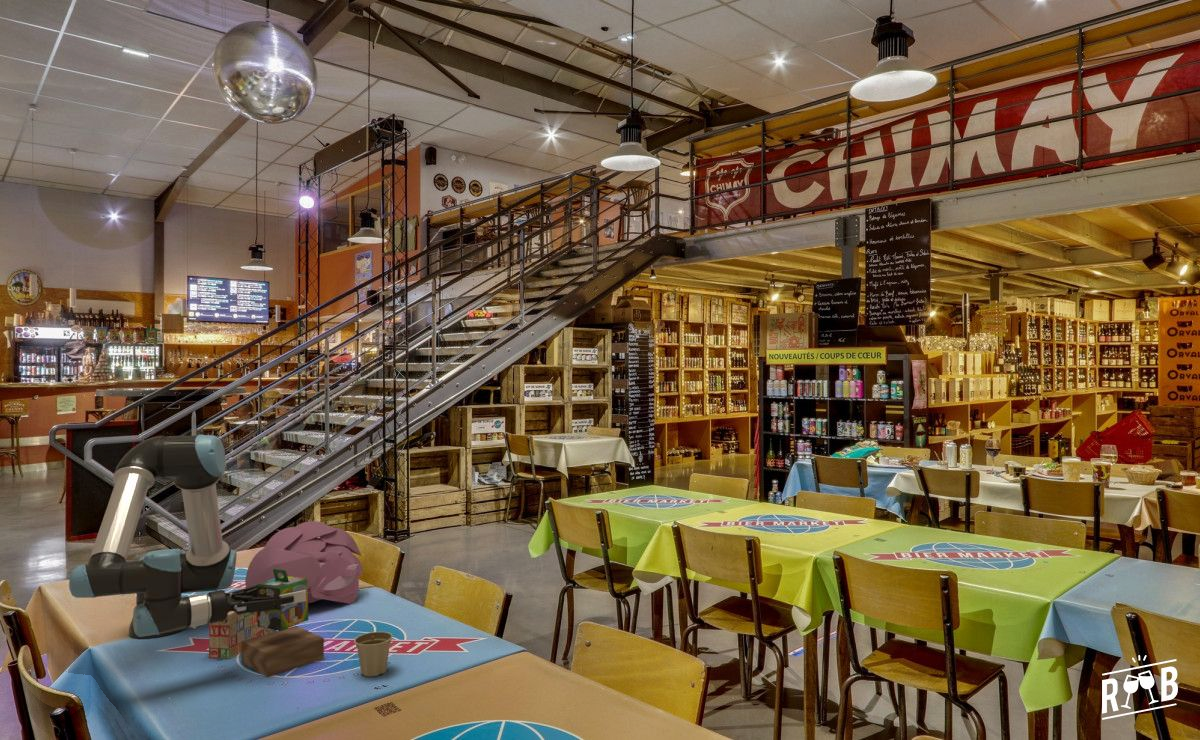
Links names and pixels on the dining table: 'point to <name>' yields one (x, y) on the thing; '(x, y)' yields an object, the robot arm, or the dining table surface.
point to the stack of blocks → (233, 634)
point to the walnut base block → (282, 650)
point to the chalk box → (288, 613)
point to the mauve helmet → (311, 561)
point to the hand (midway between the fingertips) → (297, 590)
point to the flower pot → (373, 652)
